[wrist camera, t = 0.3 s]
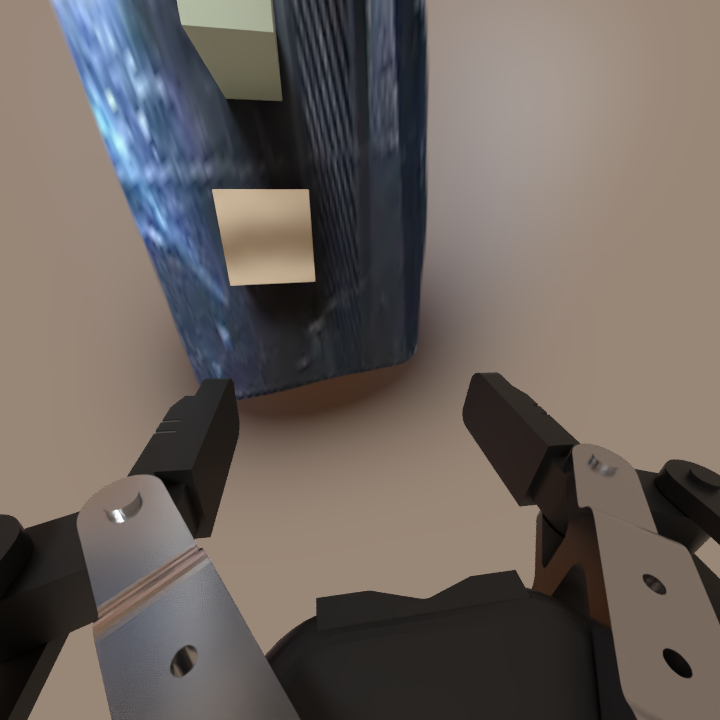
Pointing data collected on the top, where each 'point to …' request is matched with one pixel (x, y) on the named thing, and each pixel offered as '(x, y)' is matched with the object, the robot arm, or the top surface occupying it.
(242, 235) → the birch base block
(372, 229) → the top surface
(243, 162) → the top surface
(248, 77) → the sage block
